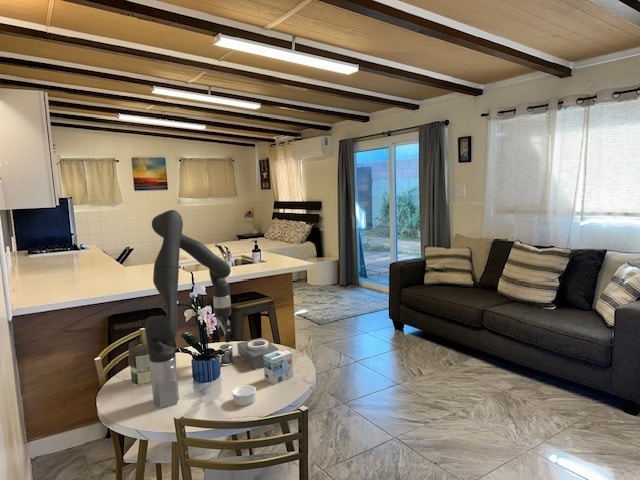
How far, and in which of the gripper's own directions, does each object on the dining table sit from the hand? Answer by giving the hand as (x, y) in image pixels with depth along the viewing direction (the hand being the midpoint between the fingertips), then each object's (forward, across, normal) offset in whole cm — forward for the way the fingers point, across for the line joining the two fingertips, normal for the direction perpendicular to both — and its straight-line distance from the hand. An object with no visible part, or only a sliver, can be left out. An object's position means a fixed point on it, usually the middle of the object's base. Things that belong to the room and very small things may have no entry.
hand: (224, 339), depth 197 cm
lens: (+11, -1, 0) cm, 11 cm away
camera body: (+11, -5, -14) cm, 19 cm away
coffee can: (+11, +3, +35) cm, 37 cm away
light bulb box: (+11, -29, -13) cm, 33 cm away
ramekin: (+11, -39, +6) cm, 41 cm away
